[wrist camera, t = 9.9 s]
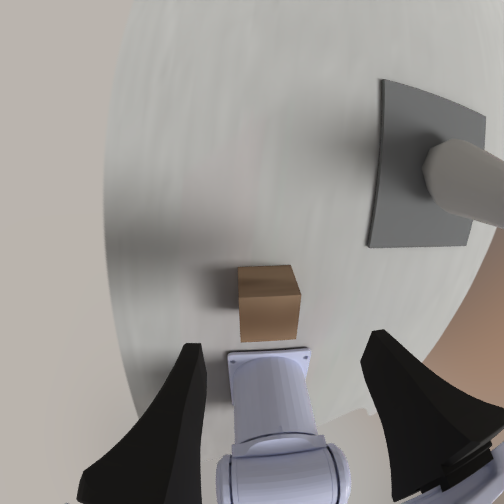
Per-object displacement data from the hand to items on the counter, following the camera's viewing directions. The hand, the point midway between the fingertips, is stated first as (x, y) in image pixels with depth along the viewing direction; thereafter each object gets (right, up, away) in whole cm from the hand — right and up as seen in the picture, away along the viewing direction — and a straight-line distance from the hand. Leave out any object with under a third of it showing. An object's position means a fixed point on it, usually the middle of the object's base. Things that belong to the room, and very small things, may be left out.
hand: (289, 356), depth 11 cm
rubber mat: (+14, +11, +7) cm, 19 cm away
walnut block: (-1, +1, +11) cm, 11 cm away
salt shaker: (+13, +11, +7) cm, 19 cm away
